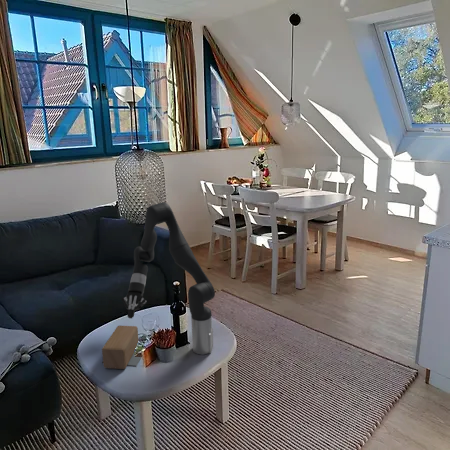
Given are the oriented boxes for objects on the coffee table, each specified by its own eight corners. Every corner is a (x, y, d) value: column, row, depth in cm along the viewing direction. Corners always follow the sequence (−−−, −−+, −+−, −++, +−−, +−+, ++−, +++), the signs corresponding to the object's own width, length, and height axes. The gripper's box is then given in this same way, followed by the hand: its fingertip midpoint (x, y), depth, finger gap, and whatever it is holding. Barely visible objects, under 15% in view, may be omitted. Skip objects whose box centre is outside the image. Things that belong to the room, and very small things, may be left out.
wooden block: (138, 325, 188) (123, 350, 169) (139, 343, 191) (125, 370, 172) (117, 324, 189) (100, 348, 170) (119, 343, 192) (103, 368, 173)
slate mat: (147, 348, 188) (147, 347, 188) (136, 366, 175) (136, 365, 175) (115, 345, 191) (115, 344, 190) (102, 363, 177) (102, 362, 177)
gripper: (122, 280, 198) (114, 314, 190) (147, 282, 196) (140, 316, 188) (127, 285, 204) (119, 319, 196) (152, 287, 202) (145, 321, 194)
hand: (130, 317), depth 192 cm, fingers closed
